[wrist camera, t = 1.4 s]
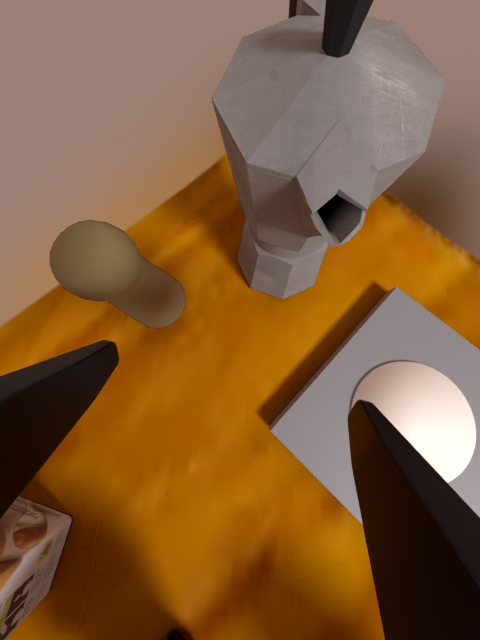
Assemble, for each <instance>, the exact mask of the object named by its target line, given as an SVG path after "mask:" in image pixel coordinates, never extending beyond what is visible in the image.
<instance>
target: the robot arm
mask: <svg viewBox="0 0 480 640" xmlns="http://www.w3.org/2000/svg"><path fill="white" fill-rule="evenodd" d="M118 362H119V355H118V351H117V346H116V344H115V343H114V342H111V341H107V340H102V341H99V342H96V343H94V344H91V345H88V346H85V347H82V348H79V349H77V350H74V351H71V352H68V353H65V354H62V355H59V356H57V357H54V358H51V359H48V360H45V361H42V362H40V363H37V364H34V365H31V366H28V367H25V368H23V369H20V370H17V371H14V372H11V373H8V374H6V375H3V376H0V519H1V518H2V517H3V515H4V514H5V513H6V511H7V510H8V509H9V508H10V506H11V505H12V504H13V503H14V501H15V500H16V499H17V498H18V496H19V495H20V494H21V492H22V491H23V490H24V489H25V487H26V486H27V485H28V484H29V482H30V481H31V480H32V479H33V477H34V476H35V475H36V473H37V472H38V471H39V470H40V468H41V467H42V466H43V465H44V463H45V462H46V461H47V460H48V458H49V457H50V456H51V454H52V453H53V452H54V451H55V449H56V448H57V447H58V446H59V444H60V443H61V442H62V441H63V439H64V438H65V437H66V435H67V434H68V433H69V432H70V430H71V429H72V428H73V427H74V425H75V424H76V423H77V422H78V420H79V419H80V418H81V416H82V415H83V414H84V413H85V411H86V410H87V409H88V408H89V406H90V405H91V404H92V402H93V401H94V400H95V398H96V397H97V395H98V394H99V393H100V391H101V389H102V388H103V386H104V385H105V383H106V382H107V380H108V379H109V377H110V375H111V374H112V372H113V371H114V369H115V368H116V366H117V365H118ZM348 432H349V443H350V455H351V464H352V471H353V476H354V482H355V487H356V492H357V497H358V502H359V507H360V513H361V518H362V523H363V528H364V533H365V538H366V544H367V549H368V554H369V559H370V564H371V569H372V575H373V580H374V585H375V590H376V595H377V600H378V606H379V611H380V616H381V621H382V626H383V631H384V636H385V640H480V517H479V516H478V515H477V514H476V513H475V512H474V511H473V510H472V509H471V508H470V507H469V505H468V504H467V503H466V502H465V501H464V500H463V499H462V498H461V497H460V496H459V495H458V494H457V493H456V492H455V491H454V489H453V488H452V487H451V486H450V485H449V484H448V483H447V482H446V481H445V480H444V479H443V478H442V477H441V476H440V474H439V473H438V472H437V471H436V470H435V469H434V468H433V467H432V466H431V465H430V464H429V463H428V462H427V461H426V460H425V458H424V457H423V456H422V455H421V454H420V453H419V452H418V451H417V450H416V449H415V448H414V447H413V446H412V445H411V443H410V442H409V441H408V440H407V439H406V438H405V437H404V436H403V435H402V434H401V433H400V432H399V431H398V430H397V429H396V427H395V426H394V425H393V424H392V423H391V422H390V421H389V420H388V419H387V418H386V417H385V416H384V415H383V414H382V412H381V411H380V410H379V409H378V408H377V407H376V406H375V405H374V404H373V403H372V402H369V401H365V400H361V399H360V400H357V401H356V403H355V404H354V406H353V407H352V409H351V411H350V412H349V414H348ZM164 640H184V639H183V638H182V636H181V635H180V634H179V632H178V631H177V630H172V631H170V632H169V634H168V635H167V636H166V637H165V638H164Z"/></svg>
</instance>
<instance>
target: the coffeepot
mask: <svg viewBox="0 0 480 640" xmlns="http://www.w3.org/2000/svg"><path fill="white" fill-rule="evenodd" d="M372 2H373V0H290V5H289V19H287V20H284V21H282V22H279V23H277V24H274V25H272V26H269V27H267V28H264V29H262V30H259V31H257V32H254V33H252V34H249V35H247V36H244V37H243V38H242V39H241V42H240V44H239V45H238V47H237V49H236V51H235V53H234V55H233V57H232V60H231V62H230V63H229V65H228V67H227V69H226V71H225V73H224V75H223V77H222V79H221V81H220V83H219V85H218V87H217V89H216V91H215V93H214V95H213V97H212V103H213V105H214V109H215V113H216V116H217V120H218V124H219V127H220V131H221V134H222V138H223V141H224V145H225V149H226V152H227V156H228V160H229V163H230V167H231V170H232V174H233V178H234V181H235V185H236V188H237V192H238V196H239V199H240V203H241V206H242V208H243V211H244V213H245V215H246V217H247V218H246V221H245V224H244V228H243V233H242V238H241V243H240V248H239V252H238V257H237V261H238V263H239V265H240V267H241V269H242V272H243V274H244V276H245V278H246V280H247V282H248V284H249V286H250V288H252V289H255V290H257V291H260V292H262V293H264V294H266V295H270V296H275V297H277V298H280V299H284V298H287V297H289V296H291V295H294V294H297V293H299V292H301V291H303V290H305V289H307V288H309V287H312V286H314V283H315V280H316V277H317V275H318V272H319V269H320V266H321V263H322V260H323V257H324V255H325V252H326V249H327V246H328V244H329V245H330V246H341V245H343V244H345V243H346V242H347V241H349V240H350V239H351V238H352V237H353V236H354V235H355V234H356V233H357V232H358V230H359V229H360V228H361V227H362V226H363V223H364V219H365V214H366V212H367V210H368V207H369V205H370V204H371V203H372V202H373V201H374V200H375V199H376V198H377V197H378V196H379V195H381V194H382V193H383V192H384V191H385V190H386V189H387V188H388V187H389V186H390V185H391V184H392V183H393V182H394V181H395V180H396V179H397V178H398V177H399V176H400V175H401V174H402V173H403V172H404V171H406V170H407V169H408V168H409V167H410V166H411V165H412V164H413V163H414V162H415V161H416V160H417V159H418V158H419V157H420V156H421V155H422V154H423V153H424V152H425V149H426V146H427V143H428V139H429V136H430V132H431V128H432V125H433V122H434V118H435V115H436V111H437V107H438V104H439V101H440V97H441V94H442V90H443V86H444V83H445V80H446V79H445V78H444V76H443V75H442V74H441V73H440V72H439V71H438V70H437V68H436V67H435V66H434V65H433V64H432V62H430V60H429V59H428V58H427V57H426V56H425V54H424V53H423V52H422V51H421V50H420V49H419V47H418V46H417V45H416V44H415V43H414V42H413V41H412V40H411V38H410V37H409V36H408V35H407V34H406V32H404V30H403V29H402V28H401V27H400V26H399V25H398V23H397V22H392V21H386V20H380V19H375V18H369V17H366V15H367V13H368V11H369V9H370V7H371V4H372Z"/></svg>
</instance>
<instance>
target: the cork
mask: <svg viewBox="0 0 480 640" xmlns="http://www.w3.org/2000/svg"><path fill="white" fill-rule="evenodd" d="M50 265H51V269H52V272H53V274H54V276H55V278H56V279H57V280H58V282H59V283H60V284H61V285H62V287H64V288H65V289H66V290H68V291H69V292H71V293H73V294H74V295H76V296H78V297H81V298H84V299H87V300H93V301H108V302H109V303H111V304H112V305H114V306H115V307H117V308H118V309H120V310H121V311H123V312H124V313H126V314H127V315H129V316H130V317H132V318H134V319H135V320H137V321H138V322H140V323H141V324H143V325H145V326H147V327H151V328H161V327H165V326H167V325H170V324H172V323H173V322H174V321H175V320H176V319H177V318H179V317H180V315H181V313H182V311H183V310H184V306H185V302H186V298H185V291H184V289H183V287H182V285H181V284H180V283H179V282H178V281H177V280H176V279H175V278H173V277H172V276H170V275H169V274H167V273H166V272H164V271H162V270H161V269H159V268H158V267H156V266H155V265H153V264H152V263H150V262H149V261H147V260H145V259H144V258H142V257H141V256H140V254H139V251H138V249H137V247H136V245H135V243H134V242H133V241H132V240H131V239H130V238H129V237H128V236H127V234H126V233H125V232H124V231H123V230H121V229H119V228H117V227H115V226H113V225H111V224H109V223H107V222H101V221H93V220H87V221H81V222H78V223H76V224H73V225H71V226H69V227H68V228H66V229H65V230H64V231H63V232H62V233H60V235H59V236H58V237H57V239H56V240H55V242H54V243H53V246H52V249H51V252H50Z"/></svg>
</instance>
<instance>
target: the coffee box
mask: <svg viewBox="0 0 480 640" xmlns="http://www.w3.org/2000/svg"><path fill="white" fill-rule="evenodd" d="M71 522H72V518H71V517H70V516H69V515H66V514H64V513H61V512H58V511H56V510H53V509H51V508H48V507H45V506H43V505H40V504H38V503H35V502H32V501H30V500H27V499H24V498H22V497H19V496H18V498H17V499H16V500H15V501H14V503H13V504H12V505H11V506H10V508H9V509H8V510H7V511H6V513H5V514H4V515H3V517H2V518H1V519H0V640H6V639H7V638H8V636H9V635H10V634H11V633H12V632H13V631H14V630H15V629H16V628H17V627H18V625H19V624H20V623H21V622H22V621H23V620H24V619H25V618H26V616H27V615H28V614H29V613H30V612H31V611H32V610H33V609H34V608H35V606H36V605H37V604H38V603H39V602H40V601H41V600H42V599H43V598H44V596H45V595H46V594H47V593H48V591H49V588H50V585H51V582H52V579H53V576H54V573H55V570H56V567H57V564H58V561H59V558H60V555H61V552H62V549H63V546H64V543H65V540H66V537H67V534H68V531H69V528H70V525H71Z"/></svg>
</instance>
